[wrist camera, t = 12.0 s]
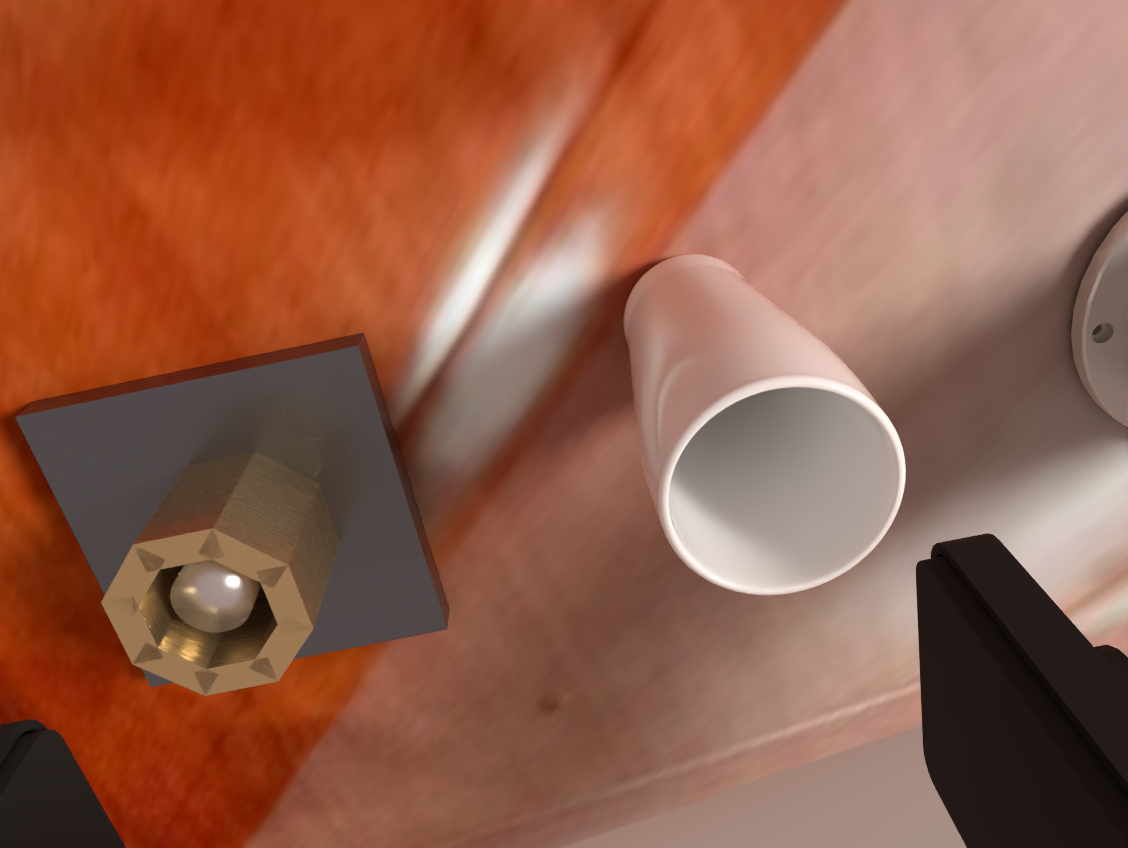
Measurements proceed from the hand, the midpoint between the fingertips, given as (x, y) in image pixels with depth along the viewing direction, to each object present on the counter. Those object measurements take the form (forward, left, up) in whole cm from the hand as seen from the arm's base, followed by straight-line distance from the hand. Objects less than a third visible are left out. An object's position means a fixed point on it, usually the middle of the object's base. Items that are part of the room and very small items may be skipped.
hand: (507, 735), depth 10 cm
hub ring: (+14, +11, -27) cm, 32 cm away
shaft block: (+14, +11, -28) cm, 33 cm away
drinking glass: (-6, +6, -28) cm, 30 cm away
